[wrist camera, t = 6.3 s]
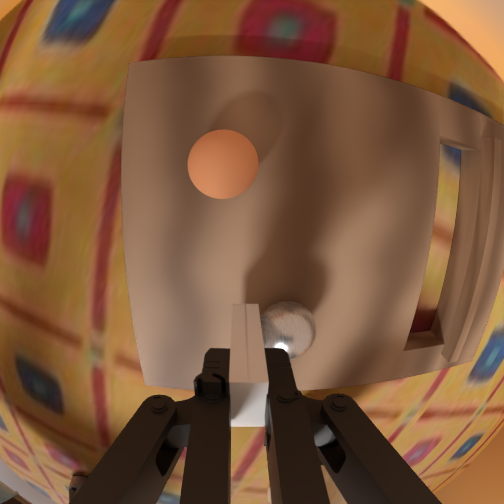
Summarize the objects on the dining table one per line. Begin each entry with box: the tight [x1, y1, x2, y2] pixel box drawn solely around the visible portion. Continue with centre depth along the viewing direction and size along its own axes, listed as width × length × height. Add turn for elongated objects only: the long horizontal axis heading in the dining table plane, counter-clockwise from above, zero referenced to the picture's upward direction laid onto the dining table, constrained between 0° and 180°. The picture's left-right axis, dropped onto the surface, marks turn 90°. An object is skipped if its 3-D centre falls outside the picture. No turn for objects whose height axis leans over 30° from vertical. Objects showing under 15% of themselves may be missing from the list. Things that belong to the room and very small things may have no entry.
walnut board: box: [121, 56, 504, 391], centre depth 17 cm, size 30×22×4 cm
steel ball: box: [260, 301, 317, 359], centre depth 16 cm, size 3×3×3 cm
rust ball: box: [188, 129, 258, 199], centre depth 13 cm, size 3×3×3 cm
